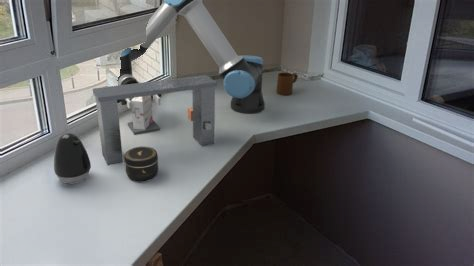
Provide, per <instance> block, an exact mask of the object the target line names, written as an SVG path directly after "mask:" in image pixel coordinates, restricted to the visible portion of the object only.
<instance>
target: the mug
mask: <svg viewBox="0 0 474 266" xmlns="http://www.w3.org/2000/svg"><path fill="white" fill-rule="evenodd" d="M297 80H298V74H297V73H295V72H293V73H290V72H279V73H277V83H276V93H277V94H278V95H280V96H290V95H292V93H293V89H294V88H293V86H294V84H295V83H296V82H297Z"/></svg>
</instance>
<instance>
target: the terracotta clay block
mask: <svg viewBox="0 0 474 266" xmlns="http://www.w3.org/2000/svg"><path fill="white" fill-rule="evenodd" d="M187 119H188V120H189V121H190V122H193V106H191V107H187ZM203 126H204V127H205V128H206V129H207V130H210V129H212V125H211V124H210V123H209V122H203Z"/></svg>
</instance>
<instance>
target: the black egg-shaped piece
mask: <svg viewBox="0 0 474 266" xmlns="http://www.w3.org/2000/svg"><path fill="white" fill-rule="evenodd" d="M53 157H54V159H53V170H54V174H55V175H56V176H57V179H59V180H60V181H61V182H63V183H65V184H71V185H73V184H78V183H81V182H83V181H84V180H86V179H87V177H88V176H89V174H90V170H91V167H92V166H91V160H90V157H89V154H88V152H87V150H86V147H85V146H84V144H83V142H82V140H81V139H80V137H78V136H77V135H76V134H74V133H71V132H66V133H63V134H61V136H60V137H59V139H58V140H57V143H56V145H55V149H54V155H53Z"/></svg>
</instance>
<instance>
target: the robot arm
mask: <svg viewBox="0 0 474 266" xmlns="http://www.w3.org/2000/svg"><path fill="white" fill-rule="evenodd" d="M162 1H163V2H162V3H161V5H160V6H159V7H158V8H157V9H156V10H155V12H154V13H152V15H151V17H150V18H149V19H148V20H149V21H148V20H147V21H148V24H147V27H146V37H147V41H146V42H145V43H143V44H141V45H140V49H139V50H138V49H133V50H131V48H127V49H125V50H124V51H122V53H121V57H120V60H121V69H120V76H119V77H118V80H117V81H118V86H119V85H127V84H135V83H140V82H139V81H138V79H136V78H135V77H134V76H133V64H132V62H134V61H136V60H137V58H138V57H140V56H141V55H143V54H144V53H145V52H146V50H147V49H148V50H149V49H150V47H151V46H152V45H153V43H154V42H155V41H156V40H157V39H158V38H159V36H160V35H161V34H162V33H163V32H164V31H165V30H166V28H167V27H169V25H170V24H171V23H172V22H173V20H174V19H175V18H176V17H177V16H178V15H180V16H182V17H184V18H185V19H186V21H187V23H188V24H189V26H190V27H191V28H192V30H193V31H194V32H195V34H196V35H197V37H198V38H199V40H200V42H201V43H202V44H203V46H204V47H205V49H206V51H208V53H209V55H210V56H211V57H212V59H213V60H214V62H215V63H216V65H217V66H218V69H219V70H218V75H219V77H220V78H221V79H222V80H223V88H224V90H225V92H226V93H227V94H228V95H229V96H230V97H231V100H230V109H231V110H232V111H234V112H237V113H242V114H257V113H260V112H263V111H264V110H265V105H266V104H265V103H266V102H265V99H264V96H263V92H262V91H263V90H262V88H263V72H264V71H263V70H264V59H263V58H262V57H261V56H256V55H248V54H247V55H245V54H244V55H243V54H242V55H238V54H237V53H236V51H235V50H234V48H233V46H232V45H231V43H230V42H229V41H228V39H227V38H226V36H225V35H224V33H223V32H222V30H221V29H220V27H219V25H218V24H217V23H216V21H215V20H214V18H213V17H212V15H211V14H210V12H209V10H208V9H207V8H206V6H205V5H204V3H203V0H162ZM140 58H141V57H140ZM135 59H136V60H135ZM138 59H139V58H138ZM133 60H134V61H133ZM161 98H162V94H157V95H151V99H152V100H153V101H154V102H155V103H156V104H157V105H158V106H160V105H161ZM120 103H121V106H126V107H127V108H128V109H129V110H132V107H131V100H130V98H128V99H120V100H117V104H120Z"/></svg>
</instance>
